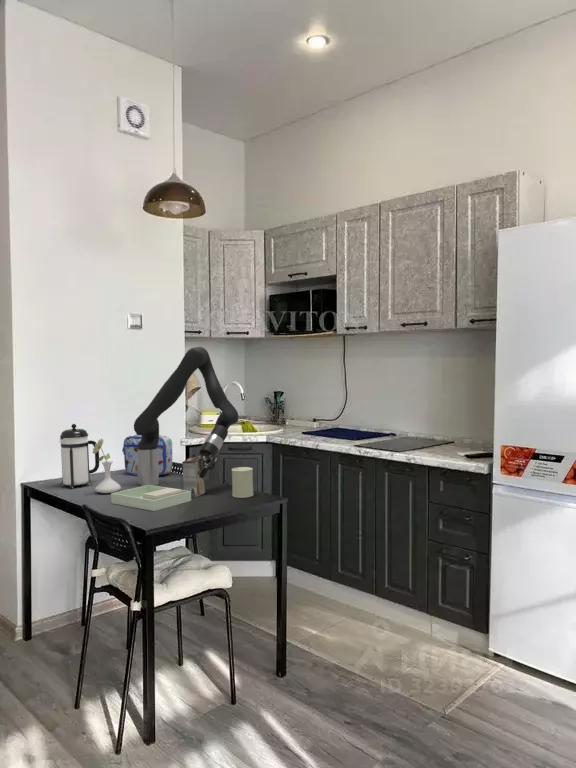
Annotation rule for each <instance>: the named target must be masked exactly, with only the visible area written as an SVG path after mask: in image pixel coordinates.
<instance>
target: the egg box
mask: <svg viewBox="0 0 576 768" xmlns="http://www.w3.org/2000/svg"><path fill="white" fill-rule="evenodd" d="M181 490H182V489H180V488H172V487H167V488H165V489H161V490H157V491H153V492H149V493H145V494H143V495H142V498H144V499H150V500H156V499H160V498H164V497H168V496H172V495H176V494H180V493H182V491H181Z"/></svg>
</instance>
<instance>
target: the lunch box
mask: <svg viewBox="0 0 576 768" xmlns="http://www.w3.org/2000/svg"><path fill="white" fill-rule="evenodd" d="M141 438H142V435H139V434H137V433H136V432H135V435H129V436H126V438H124V440H123V447H122V449H121V452H123V453H122V454H123V456H124V457H123V458H124V459H123V460H124V468H125V471H126V473H127V474H128V475H131V476H138V473H137V465H138V443H139V442H140V441H141ZM172 470H173V441H172V439H171V438H170V437H169V436H165V435H162V434H161V435H160V434H159V442H158V472H159V476H163V475H165V474H166V475H167V474H169V473H171V471H172Z"/></svg>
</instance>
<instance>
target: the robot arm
mask: <svg viewBox="0 0 576 768" xmlns="http://www.w3.org/2000/svg"><path fill="white" fill-rule="evenodd" d="M197 369H198V370H199V372H200V373H201V376H202V378H203V380H204V384H205V388H206V392H207V394H208V395H207V396H208V397H209V399H210V401H211V403H212V405H213V407H214V408H215V409H219V410H220V411H221V413H220V414H219V416H218V417H217V419H216V421H215V423H214V424H215V425H214V427H213V428H212V430H211V432H210V433H209V435H208V436H207V437H206V439H205V440H204V443H203V444H202V446H201V447H200V449H199V453H198V455H196V454H195V453H193V454H192V455H191V457H203V470H202V472H201V473H200V477H201V478H204V479H205V477H206V475H207V473H208V472H209V471H213V470H214V469H215V466H216V465H217V463H218V461H219V460H218V458H217V457H216V456H217V455H218V454H219V451H220V450H221V448H222V447H223V444H224V442H225V441H226V439H227V437H228V433H229V431H228V430H229V428H230V426H232V425H233V426H234V424H237V423H238V421H239V418H240V417H239V416H240V415H239V413H238V410H237V409H236V407H235V406H234V405H233V404H232V402H231V401H230V400H229V399H228V397H227V395H226V393H225V392H224V390H223V387H222V385H221V383H220V381H219V379H218V377H217V374H216V372H215V369H214V367H213V363H212V360H211V357H210V354H209V352H208V350H207V349H206V348H204V347H203V346H196V347H191V348H190V349H188V350H187V351H186V353H185V354H184V356H183V357H182V358H181V361H180V363H179V365H178V366H177V368H176V369H175V370H174V371H173V372H172V374H171V375H170V376H169V377H168V378H167V380H166V381H165V382H164V384H163V385H162V386H161V387H160V389H159V390H158V392H157V393H156V395H154V397H153V398H152V400H151V402H150V403H149V405H147V407H146V408H145V409H144V410H143V411H142V412H141V413H140V414H139V415H138V416H137V418H136V419H135V421H134V423H133V430H134V432H135V434H136V433H137V434H139V435H142V438H141V441H140V442H139V443H138V465H137V473H138V475H137V485H138V486H139V487H141V486H146V485H154V486H159V484H160V481H159V480H160V477H159V476H160V475H159V472H158V442H159V435H160V423H159V420H158V419H159V417H160V416H161V415H162V414H163V413H165V412H166V411H167V410H168V409H170V408H171V407H172V406H173V405H174V404H175V403H176V402H177V401H178V399H179V398H180V397H181V396H182V394H183V392H184V390H185V389H186V385H187V383H188V380H189V379H190V377H191V376H192V375H193V374H194V373H195V372H196V371H197ZM137 434H136V435H137Z"/></svg>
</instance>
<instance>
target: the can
mask: <svg viewBox="0 0 576 768" xmlns="http://www.w3.org/2000/svg"><path fill="white" fill-rule="evenodd" d="M231 478H232V479H231V482H232V483H231V484H232V486H231V489H232V490H231V491H232V494H231V495H232V497H233V498H236V499H237V498H240V499H242V498H245V499H246V498H250V497H253V496H254V479H253V467H249V466H240V467H233V468H231Z"/></svg>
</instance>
